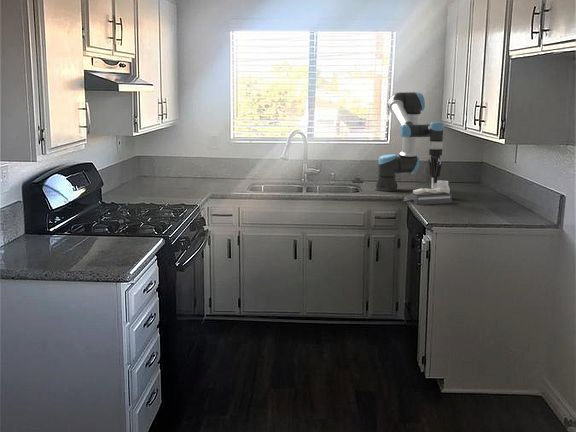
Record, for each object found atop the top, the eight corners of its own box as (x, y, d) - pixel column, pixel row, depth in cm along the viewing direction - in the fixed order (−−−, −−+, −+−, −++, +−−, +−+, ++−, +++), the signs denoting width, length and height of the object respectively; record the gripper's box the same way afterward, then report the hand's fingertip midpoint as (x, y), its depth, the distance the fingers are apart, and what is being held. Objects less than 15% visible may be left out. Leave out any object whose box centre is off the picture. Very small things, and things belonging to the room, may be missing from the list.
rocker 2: (424, 190, 385) (424, 187, 385) (433, 191, 387) (433, 188, 387) (428, 192, 380) (428, 189, 380) (437, 193, 382) (437, 190, 382)
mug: (454, 199, 397) (455, 182, 395) (443, 200, 393) (444, 183, 391) (441, 196, 407) (442, 180, 405) (431, 197, 404) (431, 180, 402)
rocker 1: (413, 193, 383) (412, 190, 383) (422, 190, 385) (421, 187, 384) (416, 194, 379) (416, 191, 378) (426, 191, 380) (425, 189, 379)
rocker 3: (435, 190, 387) (436, 187, 387) (444, 191, 389) (444, 188, 389) (439, 191, 382) (440, 188, 382) (448, 192, 384) (449, 190, 384)
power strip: (400, 202, 384) (400, 193, 383) (443, 200, 392) (444, 191, 391) (407, 205, 376) (407, 196, 375) (451, 202, 384) (452, 193, 383)
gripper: (424, 147, 384) (423, 186, 389) (435, 149, 372) (433, 190, 377) (436, 147, 386) (434, 186, 391) (447, 149, 374) (445, 189, 379)
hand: (433, 188), depth 384 cm, fingers closed
